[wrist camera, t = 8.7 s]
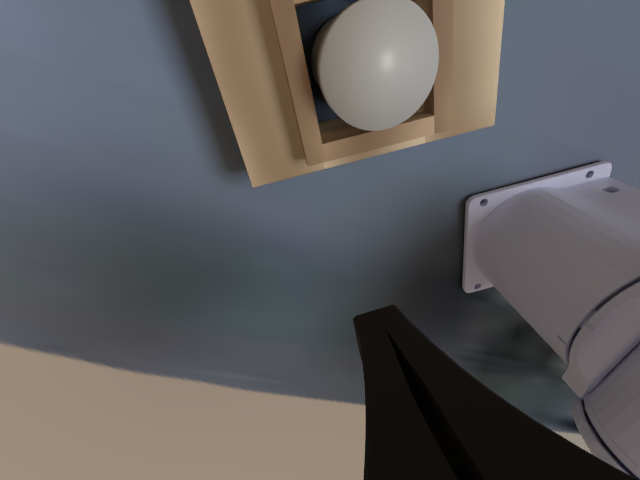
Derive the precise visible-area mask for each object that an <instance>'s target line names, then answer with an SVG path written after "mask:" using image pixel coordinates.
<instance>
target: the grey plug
mask: <svg viewBox="0 0 640 480" xmlns="http://www.w3.org/2000/svg"><path fill="white" fill-rule="evenodd" d="M438 63H439V47H438V40H437V36H436V33H435V29H434V27H433V25H432V23H431V21H430V19H429V18H428V16H427V15H426V13H425V12H424V11H423V10H422V9H421V8H420V7H419V6H418V5H417V4H415V3H414V2H413V1H411V0H358V1H356V2H354V3H352V4H350V5H349V6H348V7H346V8H345V9H344V10H343V11H341V12H340V13H339V14H338V15H336V16H334V17H332V18H331V19H329V20H328V21H327V22H326V23H325V24H324V25H323V27H322V28H321V29H320V31H319V32H318V34H317V36H316V38H315V41H314V44H313V47H312V53H311V66H312V72H313V75H314V78H315V80H316V82H317V84H318V86H319V87H320V89H321V91H322V94H323V96H324V98H325V100H326V102H327V103H328V105H329V106H330V107H331V109H332V110H333V111H334V112H335V113H336V114H337V115H338V116H339V117H340V118H341V119H342V120H344V121H345V122H346V123H348V124H350V125H351V126H354V127H356V128H359V129H363V130H369V131H379V130H385V129H389V128H392V127H394V126H396V125H399V124H401V123H402V122H404V121H405V120H407V119H408V118H409V117H411V116H412V115H413V114H414V113H415V112H416V111H417V110H418V109H419V108H420V106H421V105H422V104H423V103H424V101H425V100H426V98H427V97H428V95H429V93H430V91H431V89H432V86H433V84H434V81H435V78H436V74H437V70H438Z"/></svg>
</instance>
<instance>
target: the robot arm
mask: <svg viewBox="0 0 640 480" xmlns="http://www.w3.org/2000/svg"><path fill="white" fill-rule="evenodd" d="M611 169H612V165H611V163H609V162H606V161H601V162H597V163H593V164H589V165H586V166H582V167H578V168H574V169H571V170H567V171H563V172H559V173H555V174H552V175H548V176H544V177H540V178H537V179H533V180H529V181H525V182H522V183H518V184H514V185H510V186H507V187H503V188H499V189H495V190H491V191H488V192H484V193H480V194H476V195H473V196H471V197H470V198H468V200H467V201H466V208H465V232H464V256H463V280H462V288H463V290H464V291H465V292H466V293H472V292H475V291H479V290H483V289H486V288H490V287H495V288H496V289H497V290H498V291H499V292H500V294H501V295H502V296H503V297H504V298H505V299H506V300H507V301H508V302H509V303H510V304H511V305H512V306H513V307H514V308H515V309H516V310H517V312H518V313H519V314H520V315H521V316H522V317H523V318H524V319H525V320H526V321H527V322H528V323H529V324H530V325H531V326H532V327H533V328H534V330H535V331H536V332H537V333H538V334H539V335H540V336H541V337H542V338H543V339H544V340H545V341H546V342H547V343H548V344H549V345H550V347H551V348H552V349H553V350H554V351H555V352H556V353H557V354H558V355H559V356H560V357H561V358H562V359H563V360H564V361H565V362H566V363H567V365H568V368H567V370H566V372H565V373H564V374H563V376H562V378H563V380H564V381H565V382H566V383H567V384H568V385H569V386H570V387H571V389H572V390H573V391H574V392H575V393H576V394H577V396H576V398H575V400H574V402H573V407H572V410H573V417H574V420H575V423H576V426H577V428H578V430H579V432H580V434H581V436H582V438H583V439H584V441H585V443H586V445H587V447H588V448H589V450H590V452H591V453H592V454H593V455H592V454H590V453H588V452H587V451H585V450H583V449H581V448H580V447H578V446H576V445H575V444H573V443H572V442H570V441H568V440H567V439H565V438H563V437H562V436H560V435H558V434H557V433H555V432H553V431H552V430H550V429H548V428H547V427H545V426H543V425H542V424H540V423H538V422H537V421H535V420H534V419H532V418H531V417H529V416H528V415H526V414H525V413H523V412H522V411H520V410H519V409H517V408H516V407H514V406H513V405H511V404H510V403H508V402H507V401H505V400H504V399H503V398H501V397H500V396H498V395H497V394H496V393H494V392H493V391H491V390H490V389H489V388H487V387H486V386H485V385H483V384H482V383H481V382H479V381H478V380H477V379H475V378H474V377H473V376H472V375H470V374H469V373H468V372H467V371H465V370H464V369H463V368H461V367H460V366H459V365H458V364H457V363H455V362H454V361H453V360H452V359H451V358H449V357H448V356H447V355H446V354H445V353H444V352H443V351H441V350H440V349H439V348H438V347H437V346H436V345H435V344H433V343H432V342H431V341H430V340H429V339H428V338H427V337H426V336H425V335H424V334H423V333H422V332H421V331H420V330H419V329H417V328H416V327H415V326H414V325H413V324H412V323H411V322H410V321H409V320H408V319H407V318H406V316H405V315H404V314H403V313H402V312H401V311H400V310H399V309H398V308H397V307H396V306H394V305H390V306H387V307H384V308H380V309H377V310H374V311H371V312H367V313H364V314H361V315H357V316H355V318H354V319H353V322H354V327H355V332H356V337H357V342H358V347H359V351H360V356H361V359H362V362H363V370H364V380H365V405H366V439H365V441H366V442H365V466H364V480H640V190H639V189H637V188H634V187H632V186H629V185H627V184H625V183H622V182H620V181H617V180H615V179H612V178H610V177H609V176H610V172H611ZM483 199H484V201H483V202H482V203H481V204H480V202H481V201H482V200H483ZM476 284H477V285H476Z"/></svg>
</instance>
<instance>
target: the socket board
mask: <svg viewBox="0 0 640 480" xmlns="http://www.w3.org/2000/svg"><path fill="white" fill-rule="evenodd" d="M318 1H322V0H190V3H191V6H192V9H193V12H194V15H195V18H196V21H197V24H198V27H199V30H200V33H201V36H202V39H203V41H204V44H205V47H206V50H207V53H208V56H209V59H210V62H211V65H212V68H213V71H214V74H215V77H216V80H217V83H218V86H219V89H220V92H221V95H222V98H223V101H224V104H225V107H226V110H227V113H228V115H229V118H230V121H231V124H232V127H233V130H234V133H235V136H236V139H237V142H238V145H239V148H240V151H241V154H242V157H243V160H244V163H245V166H246V169H247V172H248V175H249V178H250V181H251V184H252V186H253V187H257V186H261V185H265V184H268V183H272V182H276V181H280V180H284V179H288V178H292V177H295V176H299V175H303V174H307V173H311V172H315V171H319V170H323V169H326V168H330V167H334V166H338V165H342V164H346V163H350V162H354V161H357V160H361V159H365V158H369V157H373V156H377V155H381V154H384V153H388V152H392V151H396V150H400V149H404V148H408V147H412V146H415V145H419V144H423V143H427V142H431V141H435V140H439V139H443V138H446V137H450V136H454V135H458V134H462V133H466V132H470V131H474V130H477V129H481V128H485V127H489V126H493V125H494V124H495V112H496V100H497V88H498V76H499V64H500V52H501V40H502V28H503V15H504V3H505V0H411V1H413V2H414V3H415V4H417V5H418V6H419V7H420V8H421V9H422V10H423V11H424V12H425V13H426V15H427V16H428V18H429V19H430V21H431V23H432V25H433V27H434V29H435V33H436V36H437V40H438V47H439V63H438V70H437V74H436V78H435V81H434V84H433V86H432V89H431V91H430V93H429V95H428V97H427V98H426V100H425V101H424V103H423V104H422V105H421V106H420V108H419V109H418V110H417V111H416V112H415V113H414V114H413V115H412V116H411V117H409V118H408V119H407V120H405V121H404V122H402V123H401V124H399V125H396V126H394V127H392V128H389V129H385V130H379V131H369V130H363V129H359V128H356V127H354V126H351V125H350V124H348V123H346V122H345V121H344V120H342V119H341V118H336V119H332V120H328V121H324V122H320V123H318V120H317V115H316V110H315V105H314V100H313V95H312V90H311V85H310V80H309V75H308V70H307V65H306V60H305V55H304V50H303V45H302V40H301V35H300V30H299V25H298V20H297V15H296V10H295V7H297V6H301V5H305V4H309V3H314V2H318Z"/></svg>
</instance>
